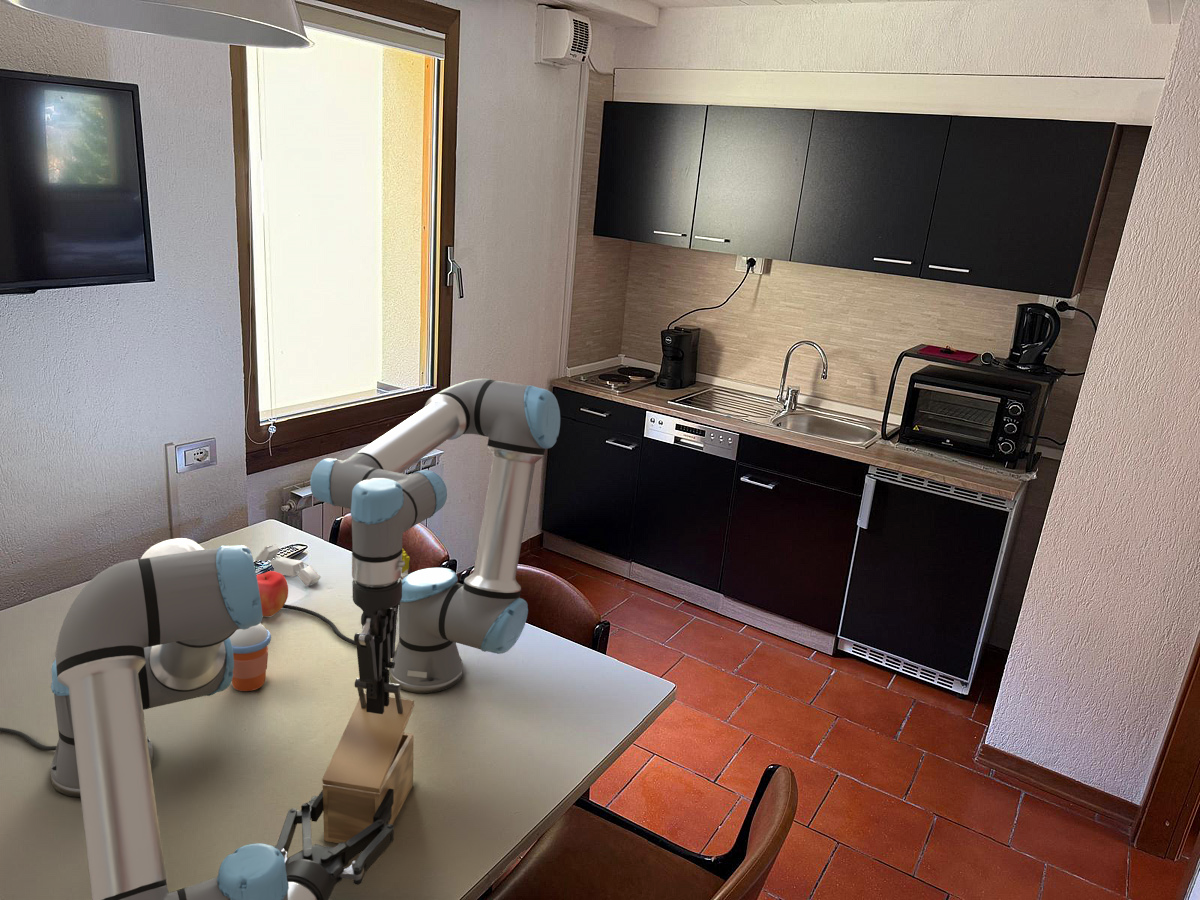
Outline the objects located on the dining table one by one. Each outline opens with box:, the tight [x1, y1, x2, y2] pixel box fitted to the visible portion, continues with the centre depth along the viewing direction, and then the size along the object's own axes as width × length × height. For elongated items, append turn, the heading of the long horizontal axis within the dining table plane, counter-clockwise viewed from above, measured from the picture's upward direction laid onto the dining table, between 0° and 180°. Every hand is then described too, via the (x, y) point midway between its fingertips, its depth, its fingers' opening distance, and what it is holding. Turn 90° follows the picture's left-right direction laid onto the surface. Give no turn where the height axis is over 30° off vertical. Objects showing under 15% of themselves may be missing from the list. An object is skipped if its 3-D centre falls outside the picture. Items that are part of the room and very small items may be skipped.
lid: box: [321, 677, 415, 793], centre depth 136 cm, size 17×9×8 cm, turn 173°
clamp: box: [254, 544, 322, 587], centre depth 219 cm, size 20×4×7 cm, turn 62°
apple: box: [256, 570, 289, 618], centre depth 199 cm, size 10×10×10 cm
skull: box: [140, 537, 205, 559], centre depth 200 cm, size 13×22×16 cm, turn 73°
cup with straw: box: [230, 623, 272, 692], centre depth 171 cm, size 9×9×18 cm
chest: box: [322, 731, 415, 844], centre depth 141 cm, size 16×9×10 cm, turn 173°
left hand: (361, 791), depth 137 cm, fingers closed on chest, 9 cm apart
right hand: (377, 707), depth 140 cm, fingers closed on lid, 1 cm apart
